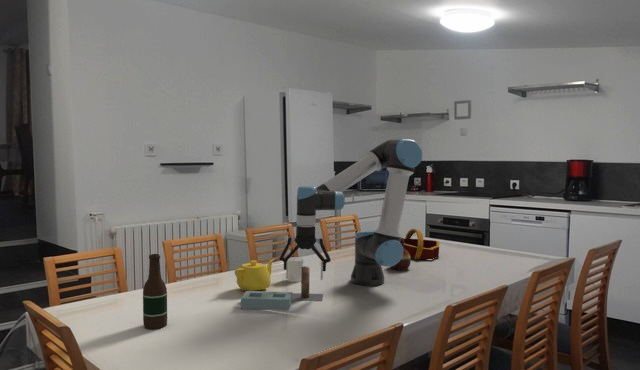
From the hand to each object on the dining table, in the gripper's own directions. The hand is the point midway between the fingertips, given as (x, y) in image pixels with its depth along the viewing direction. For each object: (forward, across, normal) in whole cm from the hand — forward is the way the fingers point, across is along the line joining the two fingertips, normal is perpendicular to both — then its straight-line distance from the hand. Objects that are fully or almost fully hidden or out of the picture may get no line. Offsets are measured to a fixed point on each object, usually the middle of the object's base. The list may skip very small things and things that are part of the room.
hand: (304, 278), depth 202 cm
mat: (+8, 0, 0) cm, 8 cm away
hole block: (+8, +13, +11) cm, 19 cm away
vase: (+7, -44, -55) cm, 70 cm away
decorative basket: (+7, -56, -90) cm, 106 cm away
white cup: (+8, +6, -26) cm, 28 cm away
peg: (+7, 0, 0) cm, 7 cm away
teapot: (+8, +21, -10) cm, 25 cm away
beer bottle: (+9, +47, +36) cm, 60 cm away
